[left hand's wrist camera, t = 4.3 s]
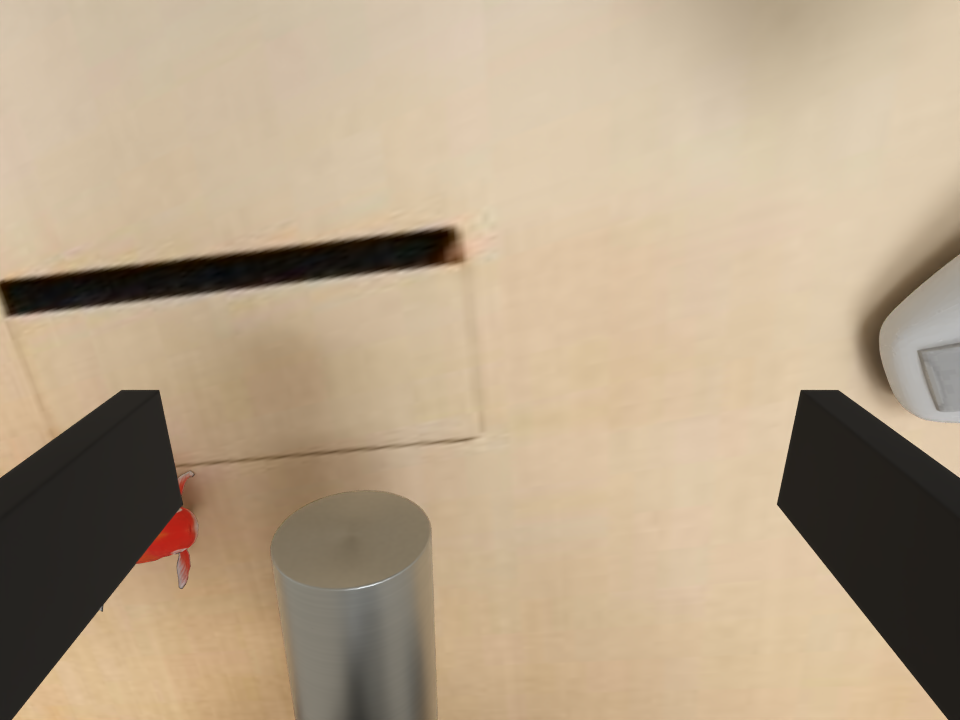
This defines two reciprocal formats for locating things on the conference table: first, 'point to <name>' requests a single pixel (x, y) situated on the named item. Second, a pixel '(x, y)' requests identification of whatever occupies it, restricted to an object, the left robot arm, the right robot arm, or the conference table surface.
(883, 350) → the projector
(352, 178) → the conference table surface
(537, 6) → the conference table surface
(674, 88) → the conference table surface
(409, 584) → the rod
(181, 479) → the fish
